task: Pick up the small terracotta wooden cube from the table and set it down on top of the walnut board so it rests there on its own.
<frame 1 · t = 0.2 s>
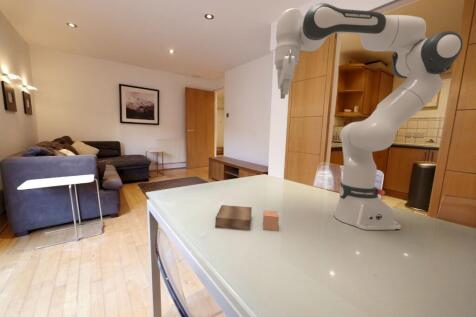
hand: (284, 96, 79), 47 cm above the table, fingers open, 8 cm apart
terracotta cube: (270, 226, 73), on the table
walnut board: (234, 222, 76), on the table
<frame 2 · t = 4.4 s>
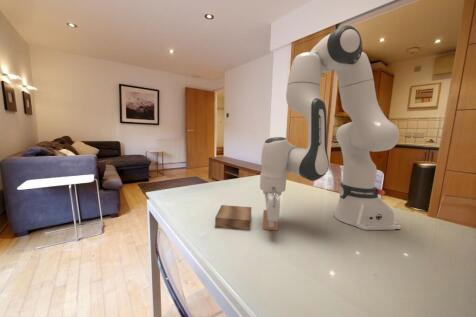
hand: (270, 222, 73), 2 cm above the table, fingers closed on terracotta cube, 5 cm apart
terracotta cube: (270, 226, 73), on the table, touching gripper
everything else where it was.
when the fingers open (7 cm above the table, at t = 10.3 s): terracotta cube drops 2 cm, resting on walnut board.
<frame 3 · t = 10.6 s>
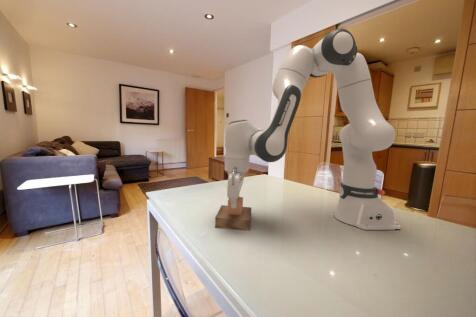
hand: (235, 202, 75), 7 cm above the table, fingers open, 8 cm apart
terracotta cube: (235, 211, 76), point 4 cm above the table, touching walnut board
walnut board: (234, 222, 76), on the table, touching terracotta cube
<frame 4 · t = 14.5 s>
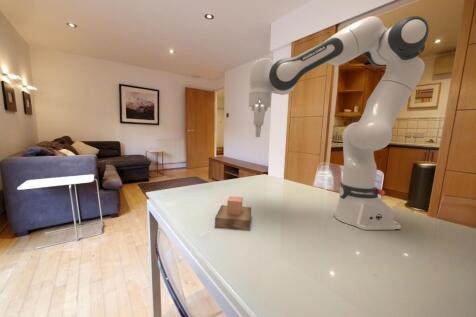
hand: (257, 136, 84), 31 cm above the table, fingers open, 8 cm apart
terracotta cube: (234, 211, 76), point 4 cm above the table
walnut board: (234, 222, 76), on the table
at the end: terracotta cube inside the target area on the walnut board (0.2 cm from its centre), point 4.0 cm above the walnut board's base; terracotta cube touching walnut board; the gripper is holding nothing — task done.
